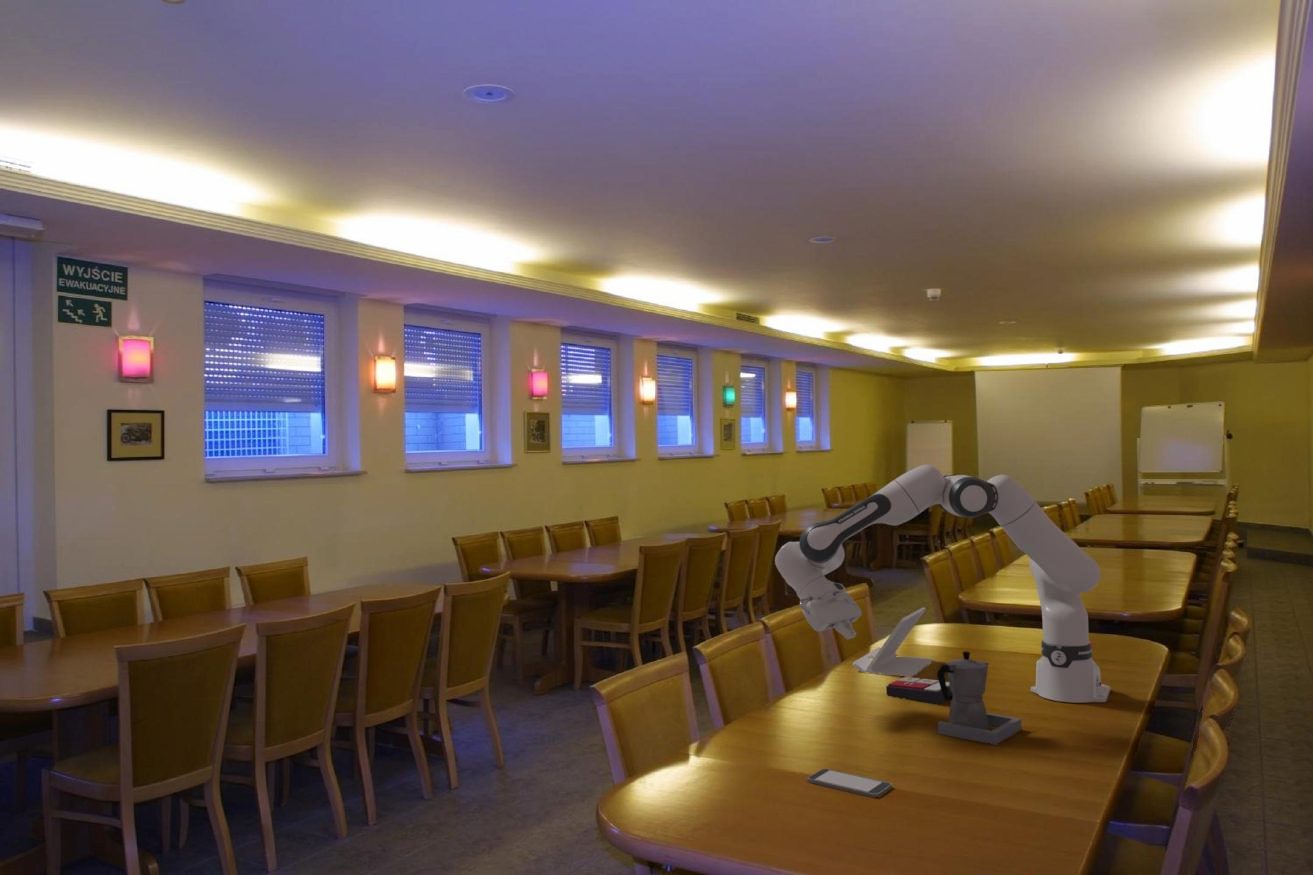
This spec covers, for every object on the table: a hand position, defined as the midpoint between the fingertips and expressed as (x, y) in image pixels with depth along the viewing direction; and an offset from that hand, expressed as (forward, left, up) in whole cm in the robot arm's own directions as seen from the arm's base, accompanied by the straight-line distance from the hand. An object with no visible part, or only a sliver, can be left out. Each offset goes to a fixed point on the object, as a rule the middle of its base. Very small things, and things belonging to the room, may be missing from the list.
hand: (852, 637), depth 231 cm
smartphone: (+49, +27, -19) cm, 59 cm away
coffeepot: (0, +29, -18) cm, 35 cm away
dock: (0, +33, -18) cm, 37 cm away
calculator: (-21, +8, -19) cm, 30 cm away
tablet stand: (-49, -14, -18) cm, 54 cm away
